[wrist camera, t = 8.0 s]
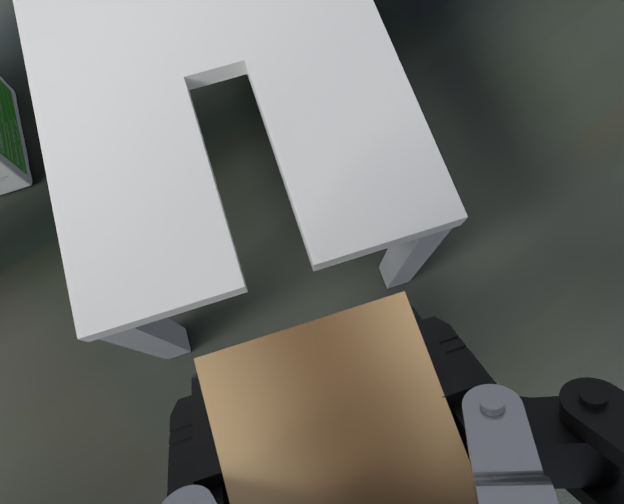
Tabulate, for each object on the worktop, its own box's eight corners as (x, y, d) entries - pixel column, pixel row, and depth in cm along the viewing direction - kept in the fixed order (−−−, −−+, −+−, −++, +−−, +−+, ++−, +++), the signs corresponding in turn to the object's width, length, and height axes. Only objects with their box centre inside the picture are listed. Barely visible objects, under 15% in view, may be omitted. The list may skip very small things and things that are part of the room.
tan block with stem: (278, 514, 21) (237, 645, 10) (240, 374, 23) (166, 344, 11) (412, 467, 22) (524, 538, 10) (365, 333, 23) (417, 264, 12)
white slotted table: (165, 362, 31) (77, 339, 19) (101, 90, 36) (2, -56, 25) (412, 283, 32) (468, 216, 21) (314, 32, 38) (315, -132, 26)
